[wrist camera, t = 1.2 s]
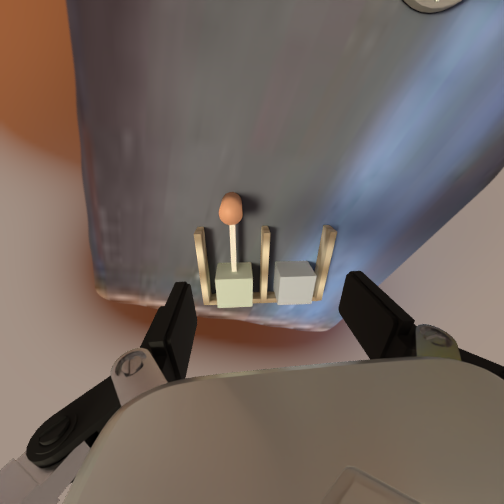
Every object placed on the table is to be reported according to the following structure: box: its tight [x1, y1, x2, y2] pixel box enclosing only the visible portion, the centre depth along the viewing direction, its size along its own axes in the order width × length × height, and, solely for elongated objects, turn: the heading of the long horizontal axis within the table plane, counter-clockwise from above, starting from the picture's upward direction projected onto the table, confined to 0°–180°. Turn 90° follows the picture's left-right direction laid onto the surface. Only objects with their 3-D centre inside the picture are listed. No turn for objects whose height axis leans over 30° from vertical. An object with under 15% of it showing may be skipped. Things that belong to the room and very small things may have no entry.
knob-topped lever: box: [215, 192, 253, 308], centre depth 31 cm, size 18×6×6 cm, turn 179°
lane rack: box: [194, 225, 337, 305], centre depth 35 cm, size 15×22×3 cm
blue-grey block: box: [273, 261, 317, 305], centre depth 36 cm, size 6×6×5 cm
